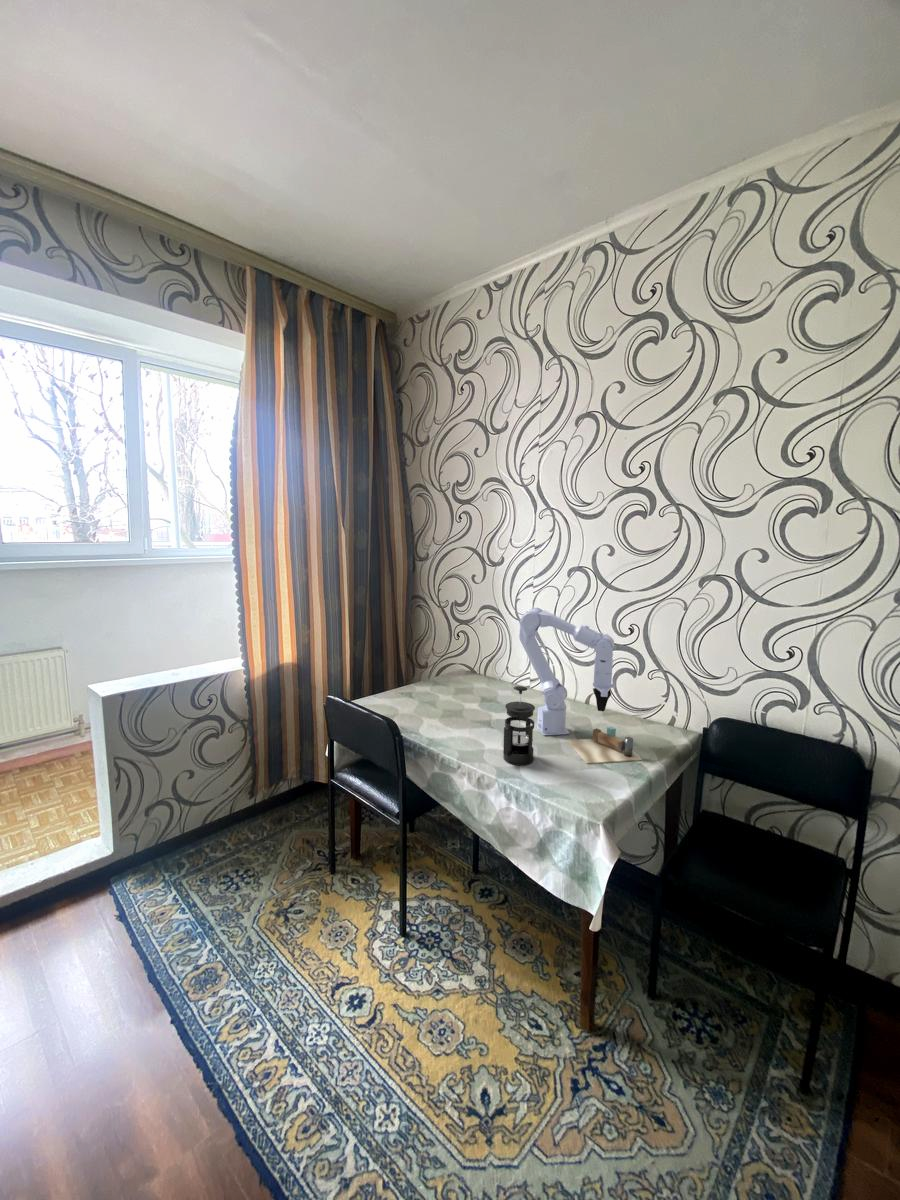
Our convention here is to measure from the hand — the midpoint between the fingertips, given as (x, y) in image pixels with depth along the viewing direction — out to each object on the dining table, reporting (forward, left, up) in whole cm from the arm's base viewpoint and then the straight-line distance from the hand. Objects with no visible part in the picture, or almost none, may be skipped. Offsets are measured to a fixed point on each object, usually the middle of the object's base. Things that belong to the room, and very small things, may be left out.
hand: (600, 710), depth 165 cm
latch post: (+3, -3, -10) cm, 11 cm away
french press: (-32, -11, -10) cm, 35 cm away
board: (-3, -9, -10) cm, 14 cm away
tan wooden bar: (0, -7, -9) cm, 12 cm away
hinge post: (+3, -14, -10) cm, 17 cm away
